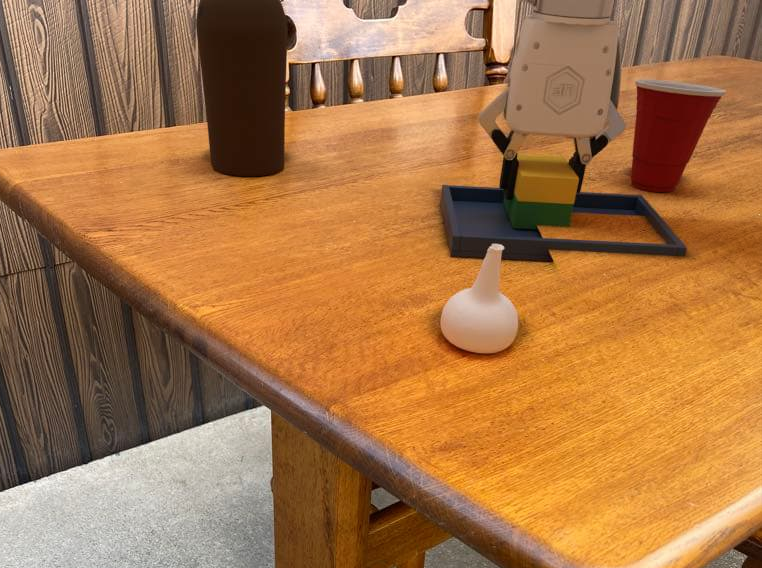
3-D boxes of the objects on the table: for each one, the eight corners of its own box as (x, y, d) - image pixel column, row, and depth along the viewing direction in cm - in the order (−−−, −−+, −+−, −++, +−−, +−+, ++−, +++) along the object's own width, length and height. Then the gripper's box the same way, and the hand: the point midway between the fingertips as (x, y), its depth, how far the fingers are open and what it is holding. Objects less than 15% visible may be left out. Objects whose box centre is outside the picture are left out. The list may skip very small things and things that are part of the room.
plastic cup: (701, 183, 105) (733, 81, 97) (688, 203, 97) (721, 94, 89) (620, 169, 108) (645, 69, 100) (602, 188, 101) (626, 82, 93)
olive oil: (256, 183, 96) (246, -76, 80) (189, 168, 100) (167, -83, 84) (305, 165, 103) (305, -76, 87) (240, 151, 107) (229, -82, 91)
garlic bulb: (472, 318, 68) (486, 224, 63) (530, 343, 65) (549, 246, 60) (423, 338, 65) (433, 240, 59) (481, 366, 61) (497, 264, 56)
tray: (637, 213, 93) (642, 194, 92) (681, 268, 80) (687, 247, 78) (440, 203, 93) (442, 184, 92) (450, 256, 79) (453, 235, 78)
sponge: (502, 202, 91) (510, 152, 88) (553, 205, 92) (563, 155, 88) (513, 228, 85) (522, 175, 81) (568, 231, 85) (579, 178, 81)
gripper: (488, 1, 72) (463, 204, 84) (673, 11, 72) (623, 212, 84) (480, -7, 78) (457, 184, 90) (652, 2, 78) (607, 191, 90)
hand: (538, 196), depth 87 cm, fingers closed on sponge, 6 cm apart
